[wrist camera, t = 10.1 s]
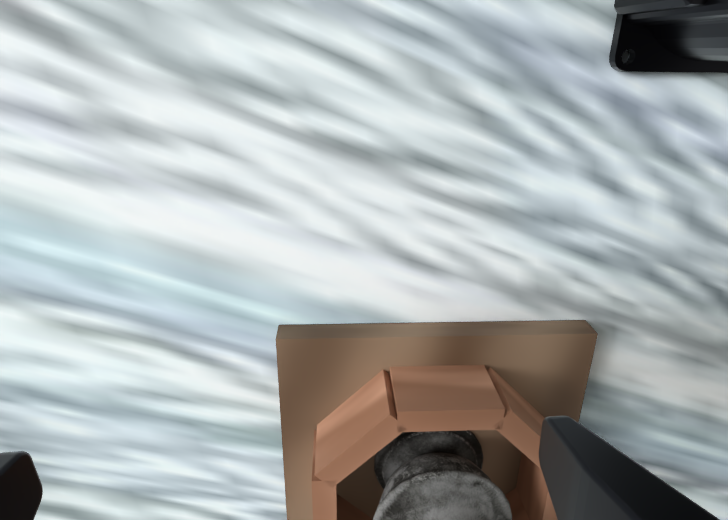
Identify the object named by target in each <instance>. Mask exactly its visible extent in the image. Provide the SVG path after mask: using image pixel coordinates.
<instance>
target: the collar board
mask: <svg viewBox="0 0 728 520" xmlns="http://www.w3.org/2000/svg"><path fill="white" fill-rule="evenodd" d="M597 335H598V333H597V332H596V331H595V330H594V329H593V328H592V327H591V326H590V325H589V324H588V323H587V322H586V320H565V321H502V322H439V323H376V324H313V325H279V326H278V331H277V336H276V349H277V365H278V381H279V397H280V413H281V429H282V445H283V461H284V477H285V493H286V509H287V520H373V517H374V515H375V512H376V510H377V507H378V505H379V501H380V499H381V496H382V494H383V491H384V489H383V488H382V486H381V485H380V484H379V482H378V480H377V477H376V474H375V471H374V459H375V455H376V453H377V452H378V451H380V450H381V449H382V448H383V447H385V446H386V445H387V444H389V443H390V442H391V441H392V440H394V439H395V438H396V437H397V436H399V435H400V434H401V433H402V432H427V431H463V430H470V431H471V432H472V433H473V434H474V435H475V436H476V438H477V439H478V441H479V443H480V444H481V448H482V452H483V465H482V469H481V470H482V471H483V472H484V473H485V474H486V475H487V476H488V477H489V478H490V479H491V481H492V482H493V483H494V484H495V485H496V486H498V487H499V488H500V489H501V490H502V491H503V493H504V494H505V496H506V498H507V499H508V501H509V503H510V508H511V513H512V520H558V519H557V516H556V513H555V510H554V507H553V504H552V501H551V498H550V495H549V491H548V488H547V485H546V482H545V479H544V476H543V473H542V470H541V467H540V462H539V445H540V437H541V428H542V422H543V420H544V418H546V417H549V416H569V417H570V418H572V419H574V420H575V421H576V422H579V417H580V413H581V408H582V404H583V399H584V394H585V390H586V385H587V381H588V376H589V372H590V367H591V362H592V358H593V353H594V349H595V344H596V339H597Z"/></svg>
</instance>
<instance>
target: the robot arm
mask: <svg viewBox="0 0 728 520" xmlns="http://www.w3.org/2000/svg"><path fill="white" fill-rule="evenodd" d="M614 7H615V9H616V11H617V18H616V23H615V29H614V34H613V40H612V45H611V51H610V56H609V62H610V65H611V67H612V68H614V69H615V70H618V71H638V72H724V73H728V0H615V4H614ZM626 50H628V52H629V59H628V61H626V62H625V63H623V62H622V58H621V56H622V54H623V52H624V51H626ZM539 462H540V467H541V470H542V473H543V476H544V479H545V482H546V485H547V488H548V491H549V495H550V498H551V501H552V504H553V507H554V510H555V513H556V516H557V519H558V520H719V519H718V518H717V517H715V516H714V515H712V514H711V513H709V512H708V511H706V510H705V509H703V508H702V507H700V506H699V505H698V504H696V503H695V502H693V501H692V500H690V499H689V498H687V497H686V496H684V495H683V494H682V493H680V492H679V491H677V490H676V489H674V488H673V487H671V486H670V485H668V484H667V483H665V482H664V481H663V480H661V479H660V478H658V477H657V476H655V475H654V474H652V473H651V472H649V471H648V470H647V469H645V468H644V467H642V466H641V465H639V464H638V463H636V462H635V461H633V460H632V459H630V458H629V457H628V456H626V455H625V454H623V453H622V452H620V451H619V450H617V449H616V448H614V447H613V446H611V445H610V444H609V443H607V442H606V441H604V440H603V439H601V438H600V437H598V436H597V435H595V434H594V433H593V432H591V431H590V430H588V429H587V428H585V427H584V426H582V425H581V424H579V423H578V422H576V421H575V420H574V419H572V418H570V417H569V416H549V417H546V418H544V420H543V422H542V428H541V437H540V445H539ZM42 492H43V490H42V484H41V481H40V479H39V476H38V474H37V471H36V468H35V466H34V463H33V461H32V458H31V456H30V455H29V454H28V453H27V452H24V451H18V452H4V453H0V520H34V517H35V515H36V512H37V510H38V507H39V505H40V502H41V499H42Z"/></svg>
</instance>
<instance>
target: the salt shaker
mask: <svg viewBox="0 0 728 520" xmlns="http://www.w3.org/2000/svg"><path fill="white" fill-rule="evenodd" d="M482 465H483V452H482V448H481V444H480V443H479V441H478V439H477V438H476V436H475V435H474V434H473V433H472V432H471V431H470V430H463V431H427V432H402V433H401V434H400V435H399V436H397V437H396V438H395V439H394V440H392V441H391V442H390V443H389V444H387V445H386V446H385V447H383V448H382V449H381V450H380V451H378V452H377V453H376V455H375V459H374V471H375V474H376V477H377V480H378V482H379V484H380V485H381V486H382V488H383V489H384V491H383V494H382V496H381V499H380V501H379V505H378V507H377V510H376V512H375V515H374V517H373V520H512V513H511V508H510V503H509V501H508V499H507V498H506V496H505V494H504V493H503V491H502V490H501V489H500V488H499V487H498V486H496V485H495V484H494V483H493V482H492V481H491V479H490V478H489V477H488V476H487V475H486V474H485V473H484V472H483V471H482V470H481V469H482Z"/></svg>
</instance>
